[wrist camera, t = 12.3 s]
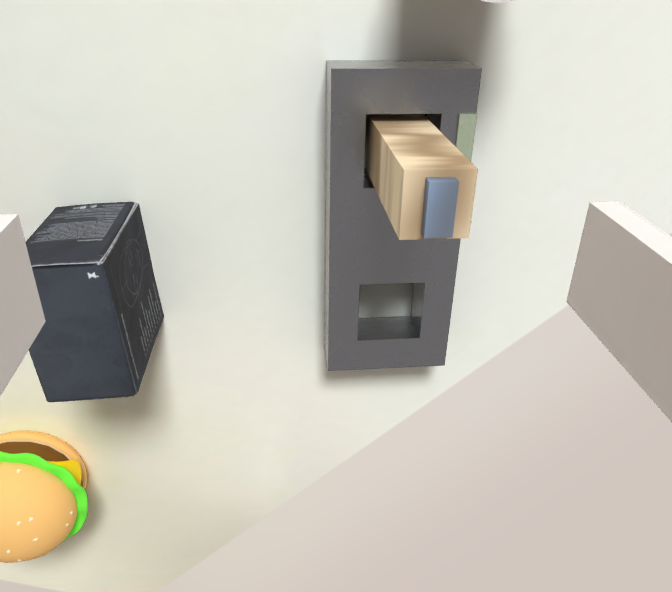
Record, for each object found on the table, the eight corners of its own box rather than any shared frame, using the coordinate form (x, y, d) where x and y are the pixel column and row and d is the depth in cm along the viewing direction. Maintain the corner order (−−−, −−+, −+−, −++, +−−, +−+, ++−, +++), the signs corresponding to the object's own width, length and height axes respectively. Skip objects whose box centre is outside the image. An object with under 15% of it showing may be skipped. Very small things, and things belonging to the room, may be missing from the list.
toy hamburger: (89, 519, 61) (64, 597, 54) (-40, 499, 58) (-86, 579, 51) (110, 432, 56) (86, 505, 48) (-30, 404, 53) (-79, 478, 46)
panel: (324, 347, 54) (328, 372, 50) (326, 60, 42) (331, 69, 39) (434, 342, 55) (445, 366, 51) (466, 60, 43) (482, 69, 40)
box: (50, 205, 45) (-5, 268, 36) (139, 198, 45) (107, 258, 36) (85, 325, 50) (45, 406, 41) (165, 318, 51) (143, 397, 42)
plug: (363, 165, 46) (401, 245, 33) (366, 111, 44) (407, 174, 31) (415, 164, 46) (472, 243, 33) (419, 111, 44) (482, 173, 31)
